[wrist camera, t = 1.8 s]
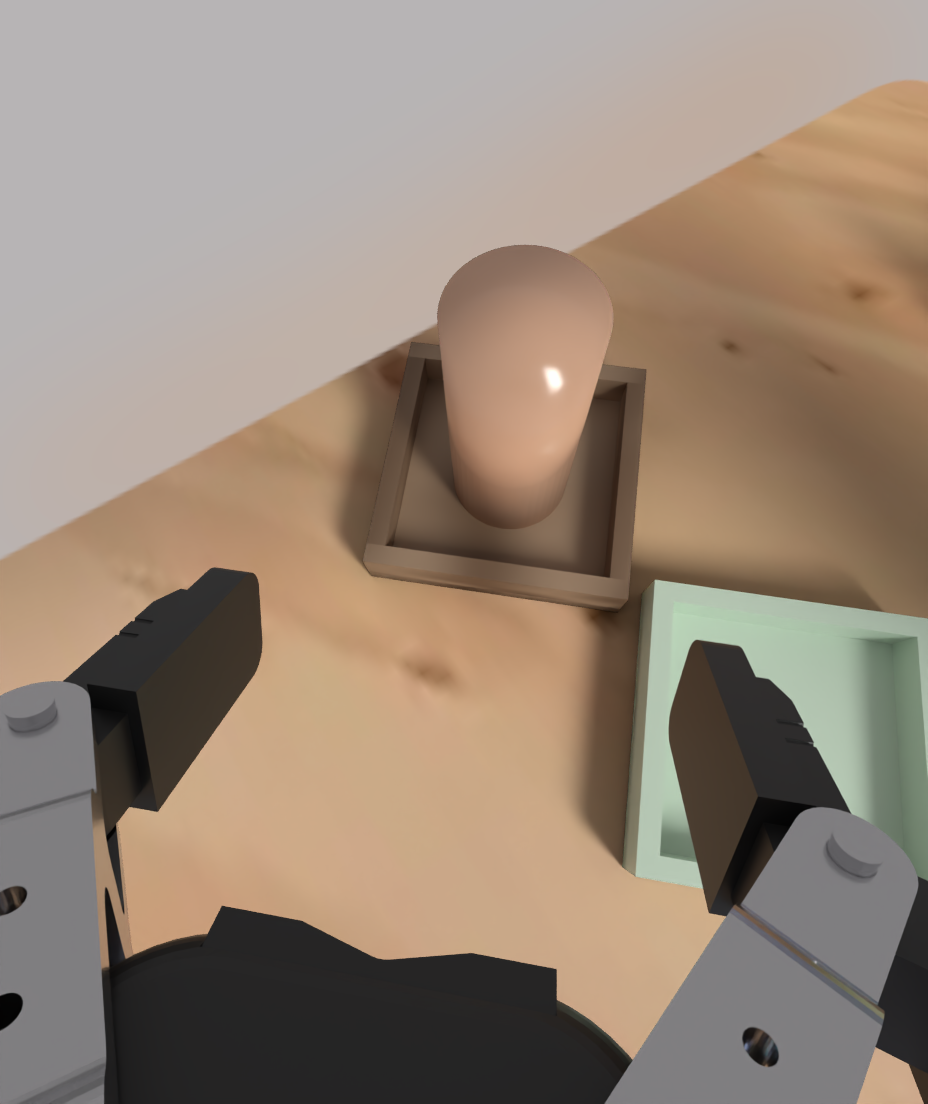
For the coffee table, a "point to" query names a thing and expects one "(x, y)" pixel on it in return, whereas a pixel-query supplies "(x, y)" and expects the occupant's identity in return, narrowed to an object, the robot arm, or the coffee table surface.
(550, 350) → the pink rounded cylinder
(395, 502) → the walnut tray
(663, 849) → the green tray
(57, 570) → the coffee table surface
